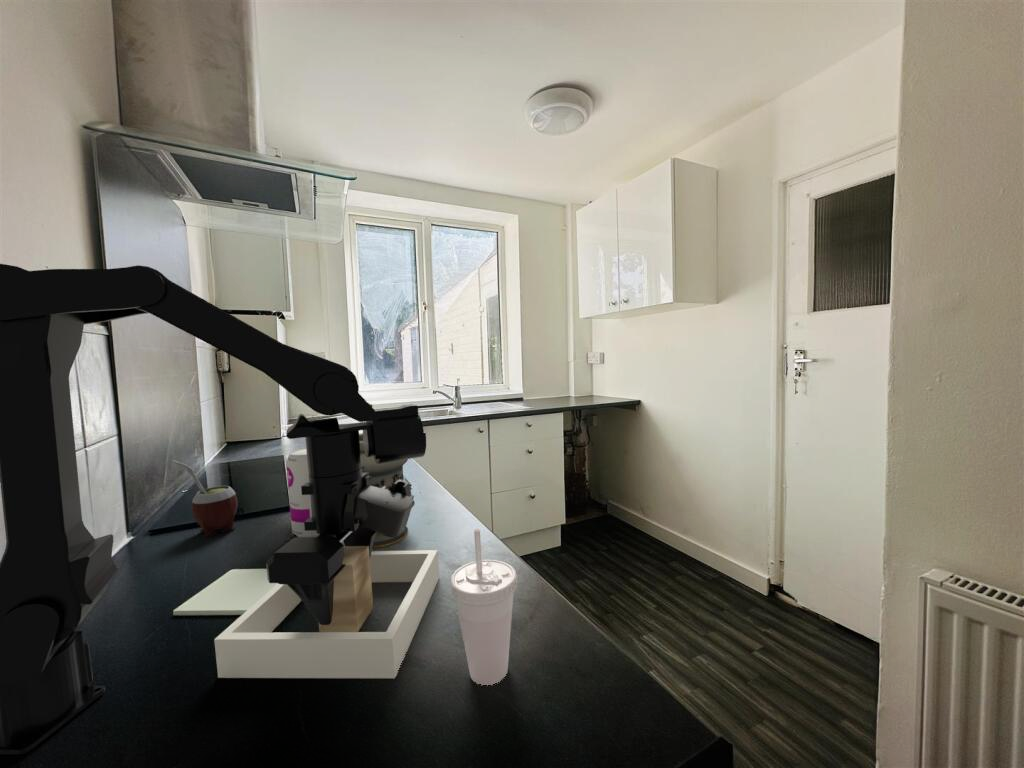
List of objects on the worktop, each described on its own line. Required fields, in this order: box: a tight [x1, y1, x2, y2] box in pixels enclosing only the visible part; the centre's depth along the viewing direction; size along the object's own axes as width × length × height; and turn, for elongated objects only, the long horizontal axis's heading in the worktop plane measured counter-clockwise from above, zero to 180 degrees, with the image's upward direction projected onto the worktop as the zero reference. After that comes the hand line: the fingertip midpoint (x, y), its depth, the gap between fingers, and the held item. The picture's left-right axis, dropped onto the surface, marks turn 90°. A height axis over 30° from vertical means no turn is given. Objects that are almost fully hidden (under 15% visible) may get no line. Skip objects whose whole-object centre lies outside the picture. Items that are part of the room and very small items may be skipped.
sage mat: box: [173, 568, 278, 616], centre depth 57 cm, size 10×10×1 cm
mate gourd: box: [170, 459, 239, 539], centre depth 77 cm, size 8×8×15 cm
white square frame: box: [213, 549, 440, 679], centre depth 49 cm, size 18×18×4 cm
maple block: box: [318, 545, 374, 632], centre depth 49 cm, size 4×4×8 cm
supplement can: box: [285, 447, 320, 538], centre depth 76 cm, size 8×8×15 cm
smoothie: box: [450, 528, 518, 687], centre depth 40 cm, size 6×6×14 cm
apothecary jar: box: [359, 432, 409, 549], centre depth 72 cm, size 12×12×18 cm
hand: (345, 598), depth 49 cm, fingers open, 9 cm apart
